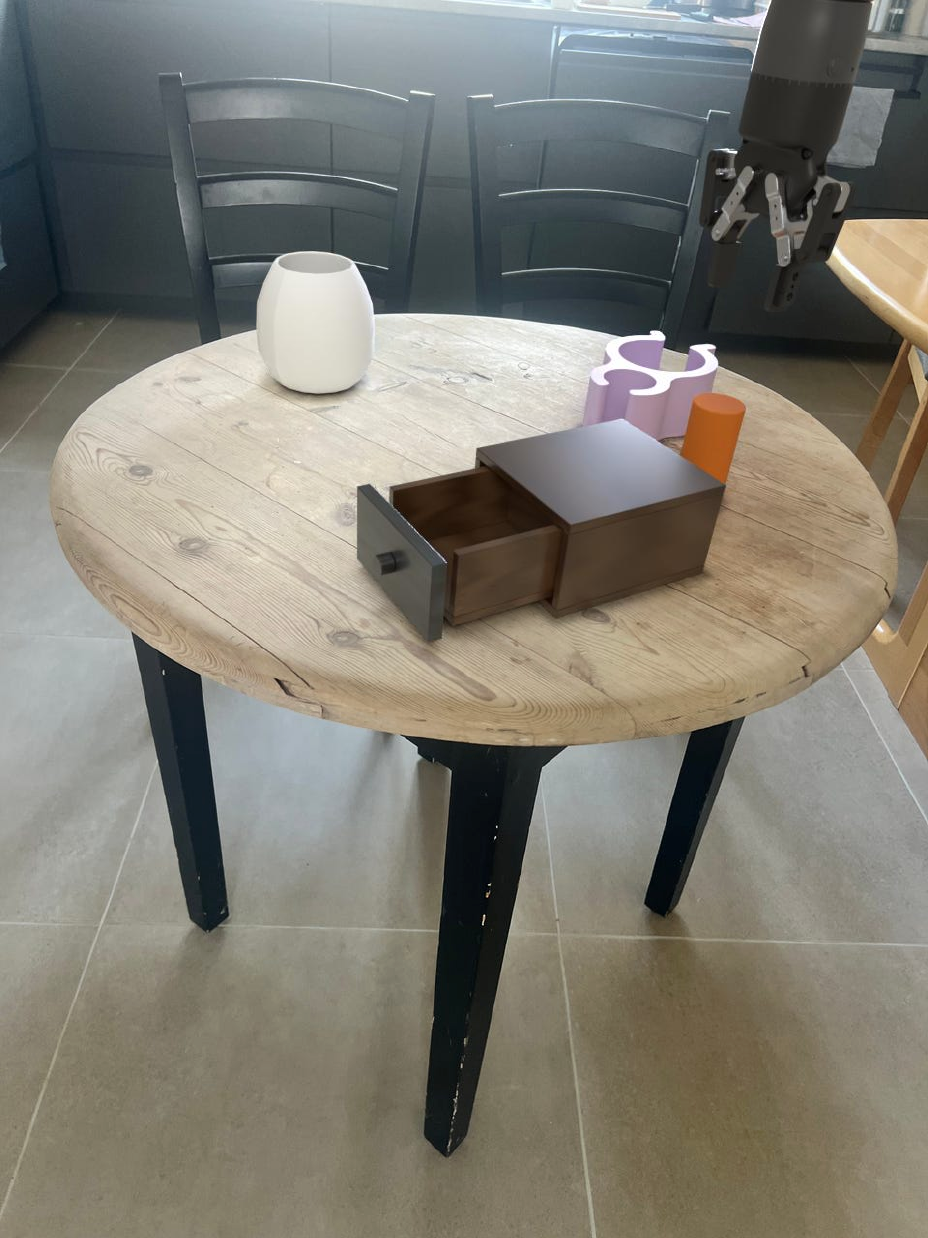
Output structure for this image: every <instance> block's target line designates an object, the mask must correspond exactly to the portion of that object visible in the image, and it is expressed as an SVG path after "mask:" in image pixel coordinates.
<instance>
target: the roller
mask: <svg viewBox="0 0 928 1238" xmlns="http://www.w3.org/2000/svg"><path fill="white" fill-rule="evenodd" d="M746 410H747V407H746V405H745V403H744V402H743V401H741V400H740V399H738V398H736V397H734V396H731V395H728V394H723V393H718V392H717V393H716V392H711V393H703V394H699V395H697V396H695V397H694V399H693V403H692V407H691V411H690V416H689V420H688V424H687V428H686V433H685V436H683V442H682V446H681V450H680V454H679V455H680V456H681V457H683V458H685V459H686V460H688V461H689V462H691V463H692V464H694V465H695V466H697V467H699V468H700V469H702V470H703V471H705V472H706V473H708V474H710V475H711V476H713V477H714V478H716V479H717V480H719V481H720V482H722V483H724V484H725V485H727V484H726V483H727V480H728V476H729V473H730V469H731V465H732V462H733V458H734V454H735V450H736V447H737V443H738V440H739V436H740V432H741V428H742V425H743V422H744V418H745V414H746Z"/></svg>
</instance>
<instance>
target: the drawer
mask: <svg viewBox="0 0 928 1238" xmlns="http://www.w3.org/2000/svg"><path fill="white" fill-rule="evenodd" d="M388 488H389V489H388V491H389V493H388V500H387V499H386V498H385V497H384V496H383V495H382V494H381V493H380V492H379V491H378V490H377V489H376V488H375V487H374V486H373V485H372V484H371V483H366V484H362V485H361V484H360V485H356V559H357V561H358V562H359V563H360V564H361V566H362V567H363V568H364V569H365V570H366V571H367V572H368V574H369V575H370V576H371V577H372V578H373V579H374V581H375V582H376V583H377V584H378V585H379V586H380V588H381V589H382V590H383V591H384V593H385V594H386V595H387V597H389V598H390V600H391V601H392V602H393V604H395V605H396V607H397V608H398V609H399V610H400V611H401V613H402V614H403V615H404V616H405V617H406V618H407V620H408V621H409V622H410V623H411V624H412V626H413V627H414V628H415V629H416V630H417V632H418V633H419V634H420V636H421V637H423V639H424V640H425V641H426V642H427V643H432V642H433V643H434V642H435V641H438V640H439V641H440V640H441V639H443V627H444V617H445V619H446V620H447V621H448V622H449V623H450V625H452V626H457V625H460V624H464V623H467V622H470V621H474V620H478V619H481V618H485V617H488V616H491V615H494V614H498V613H501V612H504V611H507V610H511V609H514V608H518V607H521V606H524V605H525V606H526V605H528V604H531V603H534V602H538V600H541V599H545V598H548V597H552V596H553V594H554V587H555V581H556V575H557V568H558V562H559V556H560V549H561V543H562V537H563V531H564V529H563V528H561V527H560V526H559V525H558V524H557V523H555V522H554V521H553V520H552V519H551V518H549V517H548V516H547V515H546V514H545V513H543V512H542V511H541V510H540V509H539V508H537V507H536V506H535V505H534V504H533V503H531V502H530V501H529V500H528V499H527V498H525V497H524V496H523V495H522V494H521V493H519V492H518V491H517V490H516V489H515V488H513V487H512V486H511V485H510V484H509V483H507V482H506V481H505V480H504V479H503V478H501V477H500V476H499V475H498V474H497V473H495V472H494V471H493V470H492V469H491V468H489V467H488V466H484V467H479V468H475V467H474V468H471V469H464V470H460V471H455V472H451V473H446V474H442V475H437V476H433V477H428V478H427V477H426V478H422V479H418V480H413V481H409V482H403V483H399V484H395V485H390V486H389V487H388Z"/></svg>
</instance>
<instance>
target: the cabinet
mask: <svg viewBox="0 0 928 1238" xmlns="http://www.w3.org/2000/svg"><path fill="white" fill-rule="evenodd" d="M484 466H488V467H489V468H491V469H492V470H493V471H494V472H495V473H497V474H498V475H499V476H500V477H501V478H503V479H504V480H505V481H506V482H507V483H509V484H510V485H511V486H512V487H513V488H515V489H516V490H517V491H518V492H519V493H521V494H522V495H523V496H524V497H525V498H527V499H528V500H529V501H530V502H531V503H533V504H534V505H535V506H536V507H537V508H539V509H540V510H541V511H542V512H543V513H545V514H546V515H547V516H548V517H549V518H551V519H552V520H553V521H554V522H555V523H557V524H558V525H559V526H560V527H561V528H563V529H564V531H563V537H562V543H561V549H560V556H559V562H558V568H557V575H556V581H555V587H554V594H553V596H552V597H548V598H545V599H541V600H538V601H537V602H538V603H539V604H540V605H541V606H542V607H543V608H544V609H545V610H546V611H547V612H548V613H549V614H550V615H551V616H553V617H554V619H559V618H563V617H565V616H568V615H571V614H575V613H579V612H580V611H584V610H587V609H590V608H594V607H597V606H601V605H603V604H607V603H610V602H613V601H616V600H619V599H622V598H626V597H629V596H632V595H636V594H639V593H642V592H645V591H649V590H652V589H655V588H657V587H660V586H665V585H668V584H671V583H674V582H677V581H680V580H684V579H687V578H691V577H694V576H697V575H700V574H702V573H703V572H704V569H705V564H706V561H707V557H708V553H709V549H710V545H711V542H712V539H713V535H714V531H715V529H716V524H717V521H718V517H719V513H720V510H721V506H722V502H723V499H724V495H725V492H726V488H727V484H724V483H722V482H720V481H719V480H717V479H716V478H714V477H713V476H711V475H710V474H708V473H706V472H705V471H703V470H702V469H700V468H699V467H697V466H695V465H694V464H692V463H691V462H689V461H688V460H686V459H685V458H683V457H681V456H680V454H678V453H677V452H675V451H673V450H672V449H671V448H669V447H668V446H666V445H665V444H663V443H662V442H659V441H657V440H655V439H653V438H652V437H650V436H649V435H647V434H646V433H644V432H642V431H641V430H639V429H638V428H636V427H635V426H633V425H632V424H630V423H628V422H627V421H625V420H624V419H619V420H614V421H609V422H604V423H599V424H594V425H589V426H584V427H582V426H579V427H574V428H569V429H564V430H559V431H554V432H549V433H544V434H540V435H535V436H529V437H525V438H519V439H515V440H509V441H504V442H499V443H495V444H489V445H484V446H479V447H476V448H475V460H474V468H479V467H484Z"/></svg>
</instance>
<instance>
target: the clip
mask: <svg viewBox="0 0 928 1238" xmlns="http://www.w3.org/2000/svg"><path fill="white" fill-rule="evenodd" d="M665 341H666V336H665V335H664V334H663V331H662V332H661V331H659V330H651V331H650V332H649V335H647V334H646V335H644V334H643V335H642V334H641V335H639V334H638V335H627V336H622V337H619V338H615V339H613V340H611V341H608V343H607V344H606V346H605V351H604V356H603V363H602V365H599V366H597V367H594V368H593V369H592V370H591V371H590V374H589V380H588V381H589V382H588V386H587V392H586V393H587V394H586V399H585V405H584V410H583V411H584V412H583V418H582V424H581V427H584V426H589V425H594V424H599V423H604V422H609V421H614V420H619V419H624V420H625V421H627V422H628V423H630V424H632V425H633V426H635V427H636V428H638V429H639V430H641V431H642V432H644V433H646V434H647V435H649V436H650V437H652V438H653V439H655V440H657V441H658V442H659V441H661V440H663V439H667V438H677V437H685V433H686V428H687V424H688V420H689V416H690V411H691V407H692V403H693V399H694V397H695V396H697V395H699V394H703V393H713V392H712V391H713V387H714V383H715V379H716V376H717V370H718V367H719V361H718V359H717V357H716V356H715V352H716V349H717V346H716V345H714V344H709V343H705V344H695V345H691V346H689V351H688V356H687V360H686V365H685V369H684V371H665V370H660V365H661V360H662V356H663V351H664V345H665Z"/></svg>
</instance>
